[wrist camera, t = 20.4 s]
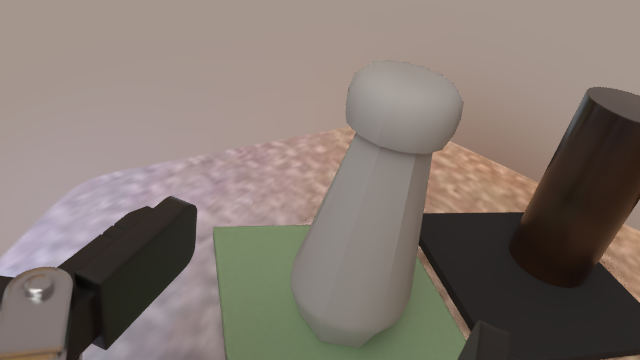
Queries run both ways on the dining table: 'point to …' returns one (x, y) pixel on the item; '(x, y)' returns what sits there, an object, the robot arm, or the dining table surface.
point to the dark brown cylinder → (583, 191)
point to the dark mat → (527, 293)
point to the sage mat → (283, 315)
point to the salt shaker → (374, 204)
